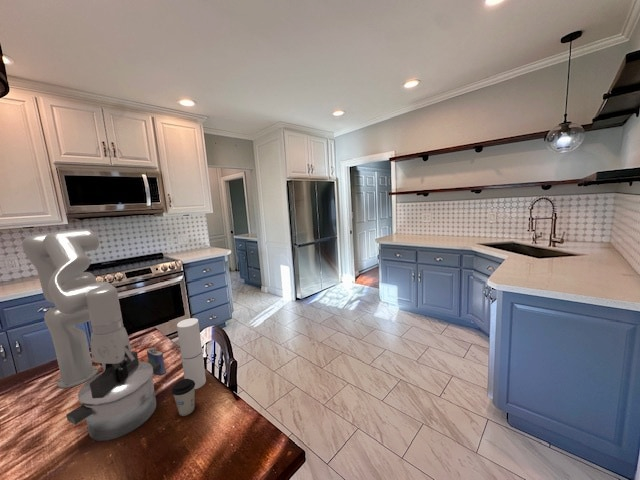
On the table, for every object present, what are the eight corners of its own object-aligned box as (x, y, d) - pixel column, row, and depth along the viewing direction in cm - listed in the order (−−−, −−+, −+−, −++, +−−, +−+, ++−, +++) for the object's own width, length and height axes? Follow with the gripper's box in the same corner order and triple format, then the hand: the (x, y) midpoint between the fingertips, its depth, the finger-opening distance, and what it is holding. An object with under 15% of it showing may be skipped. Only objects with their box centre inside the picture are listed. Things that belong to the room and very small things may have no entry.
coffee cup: (193, 399, 94) (190, 373, 92) (201, 409, 89) (197, 382, 87) (172, 410, 89) (168, 384, 87) (179, 422, 84) (174, 394, 82)
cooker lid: (127, 404, 76) (123, 385, 75) (60, 407, 76) (56, 389, 75) (164, 363, 95) (162, 347, 94) (111, 365, 95) (108, 350, 94)
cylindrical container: (198, 390, 98) (189, 327, 94) (181, 388, 99) (172, 326, 95) (209, 377, 105) (202, 318, 101) (193, 376, 106) (185, 317, 102)
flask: (167, 372, 109) (163, 348, 108) (159, 376, 107) (155, 352, 105) (154, 366, 114) (150, 343, 112) (147, 370, 111) (143, 347, 110)
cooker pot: (60, 440, 79) (52, 405, 78) (144, 384, 103) (140, 355, 101) (96, 460, 72) (87, 422, 71) (177, 395, 96) (173, 365, 94)
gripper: (72, 331, 80) (83, 386, 83) (121, 332, 78) (131, 388, 81) (96, 320, 87) (105, 370, 90) (141, 320, 85) (149, 372, 88)
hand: (117, 378), depth 85 cm, fingers closed on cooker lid, 3 cm apart
